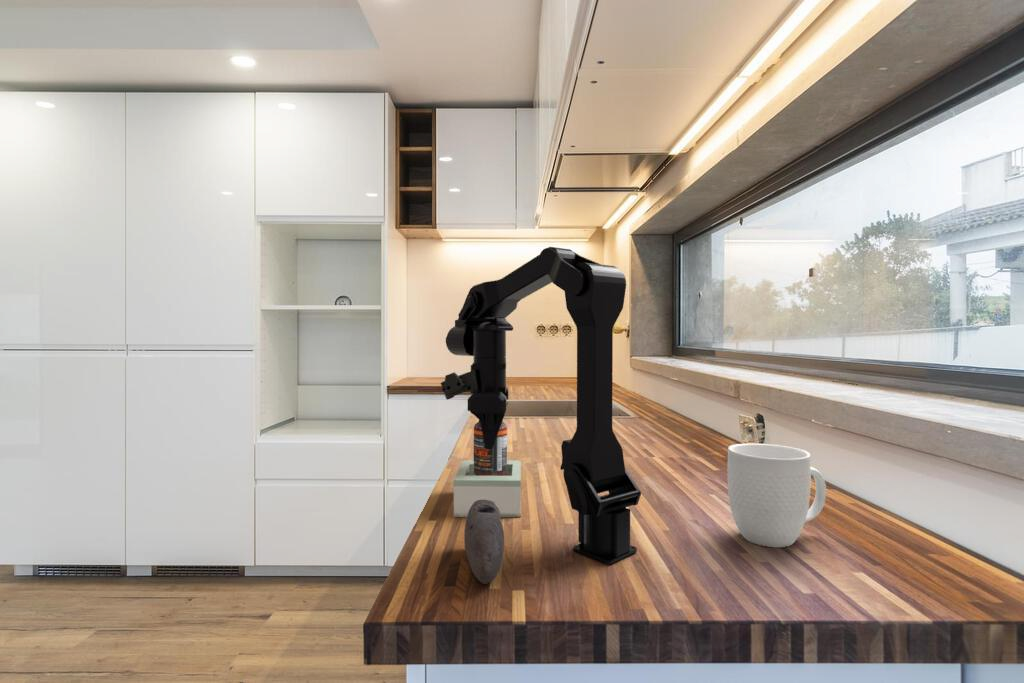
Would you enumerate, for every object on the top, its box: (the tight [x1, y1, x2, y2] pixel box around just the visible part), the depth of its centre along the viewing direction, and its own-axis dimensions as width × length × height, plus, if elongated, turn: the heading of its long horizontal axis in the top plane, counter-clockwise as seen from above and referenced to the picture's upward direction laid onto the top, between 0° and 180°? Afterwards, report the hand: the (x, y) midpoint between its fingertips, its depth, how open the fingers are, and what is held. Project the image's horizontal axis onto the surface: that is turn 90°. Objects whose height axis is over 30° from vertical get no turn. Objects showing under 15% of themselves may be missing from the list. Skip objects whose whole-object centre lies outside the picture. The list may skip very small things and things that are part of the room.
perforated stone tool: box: [463, 500, 505, 585], centre depth 70 cm, size 15×5×7 cm, turn 2°
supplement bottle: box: [473, 420, 508, 476], centre depth 96 cm, size 6×6×11 cm
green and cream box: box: [453, 459, 522, 518], centre depth 96 cm, size 11×14×6 cm
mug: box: [726, 442, 827, 548], centre depth 80 cm, size 15×11×13 cm
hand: (490, 445), depth 96 cm, fingers closed on supplement bottle, 6 cm apart
